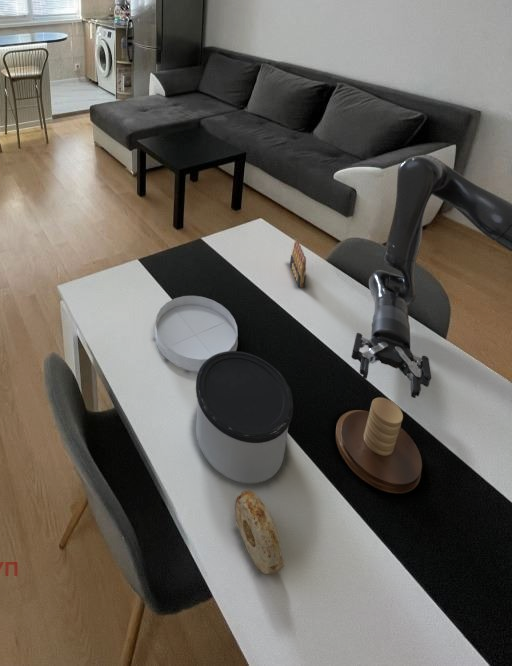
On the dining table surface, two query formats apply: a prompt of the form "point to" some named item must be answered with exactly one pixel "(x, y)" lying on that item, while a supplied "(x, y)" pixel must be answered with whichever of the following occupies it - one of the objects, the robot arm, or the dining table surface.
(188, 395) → the dining table surface
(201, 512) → the dining table surface
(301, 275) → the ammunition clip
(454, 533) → the dining table surface
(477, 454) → the dining table surface
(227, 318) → the dish
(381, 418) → the chip roll
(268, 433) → the container
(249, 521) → the bagel
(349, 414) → the brown round base
